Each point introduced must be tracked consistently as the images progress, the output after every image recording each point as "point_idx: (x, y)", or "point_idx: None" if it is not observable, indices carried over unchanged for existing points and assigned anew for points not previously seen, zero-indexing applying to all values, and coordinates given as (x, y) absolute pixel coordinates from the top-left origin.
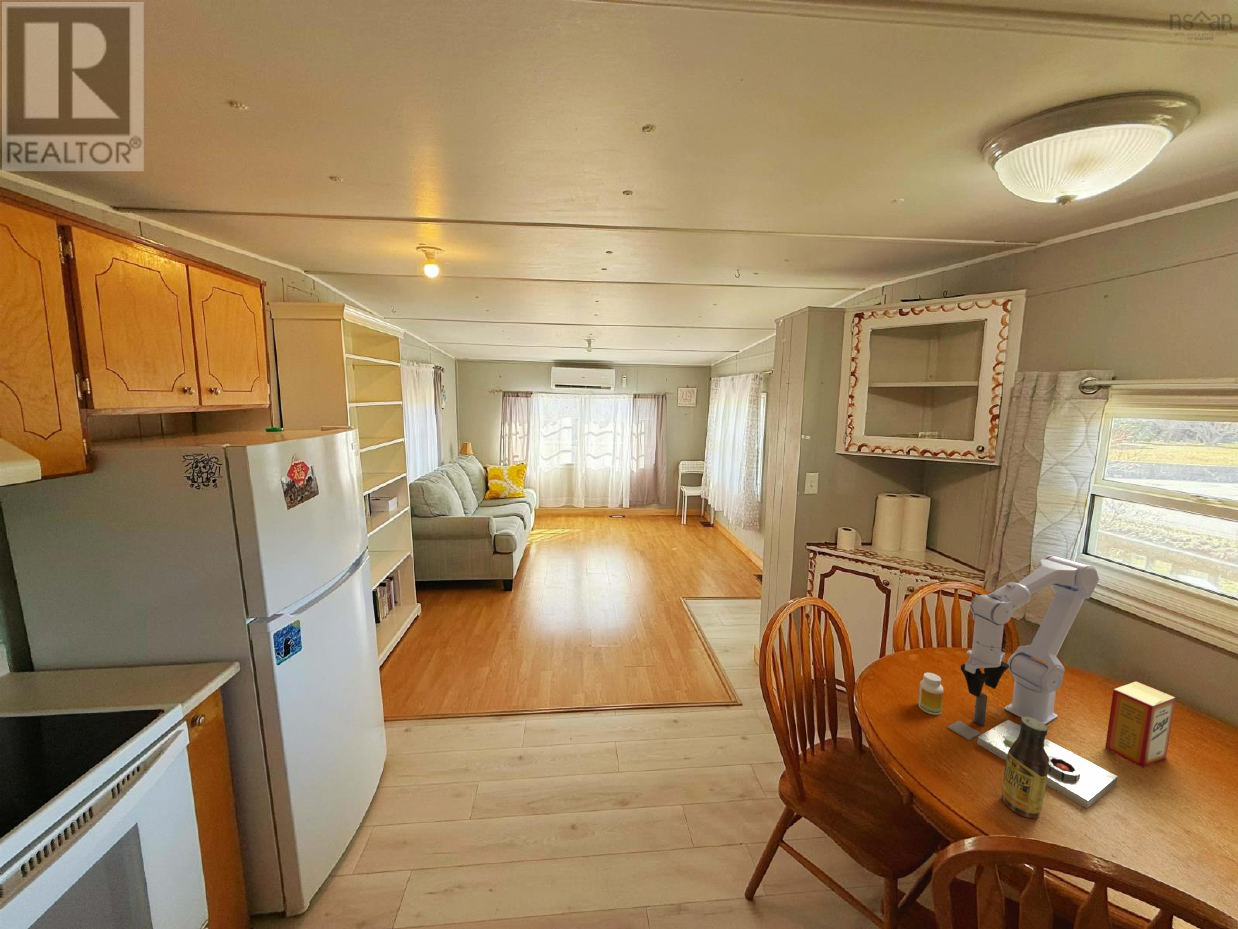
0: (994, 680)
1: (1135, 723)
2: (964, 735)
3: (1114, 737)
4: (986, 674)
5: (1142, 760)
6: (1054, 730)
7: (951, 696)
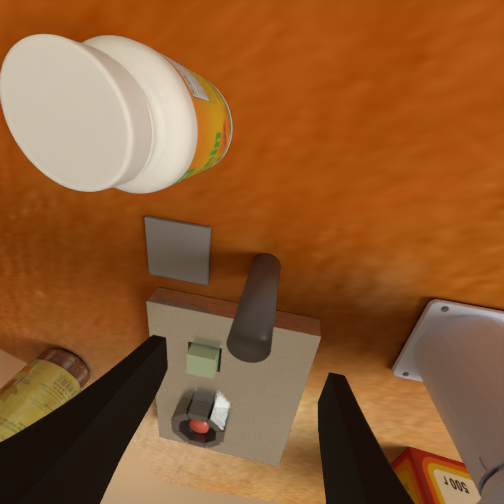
0: (327, 462)
1: None
2: (151, 261)
3: (418, 500)
4: (345, 456)
5: None
6: (407, 388)
7: (380, 139)
